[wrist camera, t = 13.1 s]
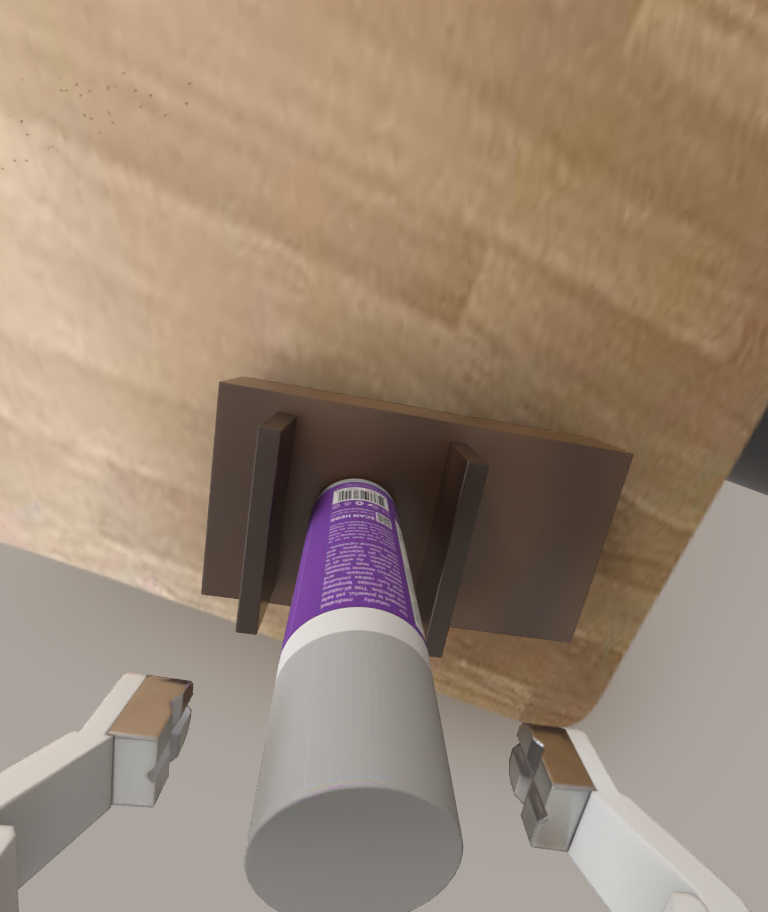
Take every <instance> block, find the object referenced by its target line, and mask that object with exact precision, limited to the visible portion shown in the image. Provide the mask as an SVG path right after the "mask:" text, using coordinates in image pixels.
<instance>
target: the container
mask: <svg viewBox="0 0 768 912" xmlns="http://www.w3.org/2000/svg"><path fill="white" fill-rule="evenodd" d="M462 855H463V839H462V834H461V828H460V823H459V817H458V812H457V807H456V801H455V796H454V790H453V785H452V779H451V774H450V768H449V763H448V758H447V752H446V747H445V741H444V736H443V730H442V725H441V719H440V714H439V709H438V704H437V698H436V692H435V687H434V681H433V676H432V670H431V665H430V659H429V654H428V649H427V644H426V640H425V635H424V631H423V626H422V621H421V617H420V612H419V608H418V603H417V599H416V594H415V590H414V585H413V581H412V576H411V571H410V567H409V562H408V558H407V553H406V549H405V544H404V540H403V535H402V531H401V526H400V522H399V517H398V512H397V509H396V506H395V503H394V501H393V499H392V497H391V496H390V495H389V493H388V492H387V491H386V490H385V489H383V488H382V487H381V486H379V485H378V484H376V483H374V482H371V481H368V480H364V479H346V480H342V481H338V482H336V483H334V484H332V485H330V486H329V487H327V488H326V489H325V490H324V491H322V492H321V494H320V495H319V496H318V497H317V499H316V501H315V503H314V505H313V508H312V512H311V516H310V520H309V525H308V530H307V534H306V539H305V543H304V548H303V553H302V557H301V562H300V567H299V571H298V576H297V580H296V585H295V590H294V594H293V599H292V604H291V608H290V613H289V617H288V622H287V627H286V631H285V636H284V641H283V645H282V650H281V655H280V660H279V666H278V672H277V678H276V683H275V689H274V694H273V700H272V706H271V711H270V717H269V722H268V728H267V733H266V739H265V744H264V750H263V755H262V761H261V766H260V772H259V778H258V783H257V789H256V795H255V800H254V805H253V811H252V816H251V822H250V828H249V833H248V838H247V845H246V850H245V856H244V868H245V873H246V876H247V879H248V882H249V884H250V886H251V887H252V889H253V890H254V891H255V893H256V894H257V895H258V896H259V897H260V898H261V900H263V901H264V902H265V903H266V904H268V905H269V906H270V907H272V908H274V909H275V910H277V911H279V912H410V911H412V910H414V909H416V908H418V907H420V906H422V905H423V904H425V903H427V902H428V901H430V900H431V899H432V898H434V897H435V896H436V895H438V894H439V893H440V892H441V891H442V890H443V889H444V888H445V887H446V886H447V885H448V883H449V882H450V881H451V880H452V878H453V877H454V875H455V874H456V872H457V870H458V868H459V865H460V862H461V859H462Z"/></svg>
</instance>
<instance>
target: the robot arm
mask: <svg viewBox="0 0 768 912" xmlns="http://www.w3.org/2000/svg"><path fill="white" fill-rule="evenodd" d="M192 695H193V683H192V682H191V681H187V680H180V679H173V678H167V677H160V676H153V675H144V674H138V673H131V672H128V673H126V674H125V675H123V676H122V677H121V678H120V679H119V681H118V682H117V683H116V685H115V686H114V687H113V688H112V690H111V691H110V692H109V694H108V695H107V696H106V698H105V699H104V700H103V701H102V703H101V704H100V705H99V707H98V708H97V709H96V711H95V712H94V713H93V714H92V716H91V717H90V719H89V720H88V721H87V722H86V724H85V725H84V726H83V728H82V729H81V730H80V731H79V732H75V731H72V732H70V733H68V734H66V735H65V736H63V737H61V738H60V739H58V740H56V741H54V742H52V743H51V744H49V745H47V746H46V747H44V748H42V749H40V750H39V751H37V752H35V753H33V754H32V755H30V756H28V757H26V758H25V759H23V760H21V761H20V762H18V763H16V764H14V765H13V766H11V767H9V768H7V769H6V770H4V771H2V772H1V773H0V912H19V910H18V909H19V908H18V889H19V888H20V887H22V886H23V885H24V884H25V883H26V882H27V881H28V880H29V879H31V878H32V877H33V876H34V875H35V874H36V873H37V872H38V871H39V870H41V869H42V868H43V867H44V866H45V865H46V864H48V863H49V862H50V861H51V860H52V859H53V858H54V857H55V856H57V855H58V854H59V853H60V852H61V851H62V850H63V849H65V848H66V847H67V846H68V845H69V844H70V843H71V842H72V841H74V840H75V839H76V838H77V837H78V836H79V835H80V834H82V833H83V832H84V831H85V830H86V829H87V828H88V827H89V826H91V825H92V824H93V823H94V822H95V821H96V820H97V819H98V818H100V817H101V816H102V815H103V814H104V813H105V812H106V811H108V810H109V809H110V808H111V805H122V806H136V807H149V808H153V807H154V805H155V803H156V801H157V799H158V797H159V795H160V793H161V791H162V789H163V786H164V784H165V782H166V780H167V778H168V775H169V763H170V762H171V761H173V760H174V759H175V758H177V757H178V755H179V753H180V751H181V748H182V746H183V744H184V741H185V738H186V735H187V732H188V728H189V724H190V719H191V709H190V707H189V706H188V703H189V701H190V699H191V697H192ZM517 736H518V739H519V741H520V743H519V744H518V745H517V746H515V747H514V748H513V749H512V752H511V756H510V760H509V775H510V781H511V785H512V789H513V792H514V795H515V796H516V797H517V798H518V799H519V800H520V802H521V803H522V804H523V805H524V806H523V810H522V813H521V817H522V820H523V823H524V826H525V829H526V833H527V835H528V839H529V842H530V845H531V847H534V848H541V849H548V850H556V851H563V852H568V856H569V857H570V859H571V860H572V861H573V863H574V864H575V865H576V866H577V868H578V869H579V870H580V872H581V873H582V874H583V876H584V877H585V878H586V880H587V881H588V882H589V884H590V885H591V886H592V888H593V889H594V890H595V891H596V893H597V894H598V895H599V897H600V898H601V899H602V901H603V902H604V903H605V905H606V906H607V907H608V908H609V910H610V911H611V912H751V911H750V910H749V909H748V907H747V906H746V904H745V903H744V901H743V900H742V898H741V897H740V896H739V895H738V894H737V893H736V892H735V891H734V890H733V889H732V888H730V887H729V886H728V885H727V884H726V883H725V882H724V881H723V880H721V879H720V878H719V877H718V876H717V875H716V874H715V873H714V872H712V871H711V870H710V869H709V868H708V867H707V866H706V865H704V864H703V863H702V862H701V861H700V860H699V859H698V858H697V857H695V856H694V855H693V854H692V853H691V852H690V851H689V850H688V849H686V848H685V847H684V846H683V845H682V844H681V843H680V842H679V841H677V840H676V839H675V838H674V837H673V836H672V835H671V834H670V833H668V832H667V831H666V830H665V829H664V828H663V827H662V826H661V825H659V824H658V823H657V822H656V821H655V820H654V819H653V818H651V817H650V816H649V815H648V814H647V813H646V812H645V811H644V810H642V809H641V808H640V807H639V806H638V805H637V804H636V803H635V802H633V801H632V800H631V799H630V798H629V797H628V796H627V795H623V794H620V793H619V791H618V790H617V788H616V786H615V784H614V783H613V781H612V779H611V777H610V775H609V774H608V772H607V770H606V768H605V767H604V765H603V763H602V761H601V760H600V758H599V756H598V754H597V752H596V751H595V749H594V747H593V745H592V743H591V742H590V740H589V738H588V736H587V735H586V733H585V732H584V731H583V730H582V729H575V728H567V727H558V726H549V725H540V724H532V723H522V724H521V726H520V727H519V730H518V733H517Z"/></svg>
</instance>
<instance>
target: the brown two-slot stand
mask: <svg viewBox="0 0 768 912" xmlns="http://www.w3.org/2000/svg"><path fill="white" fill-rule="evenodd" d="M632 458H633V454H632V453H630V452H627V451H625V450H622V449H620V448H617V447H614V446H612V445H609V444H607V443H604V442H602V441H599V440H597V439H594V438H588V437H582V436H577V435H571V434H565V433H560V432H554V431H548V430H542V429H537V428H531V427H525V426H520V425H514V424H508V423H503V422H497V421H491V420H486V419H480V418H474V417H469V416H463V415H457V414H452V413H446V412H440V411H435V410H429V409H423V408H417V407H412V406H406V405H400V404H395V403H389V402H383V401H378V400H372V399H366V398H361V397H355V396H349V395H344V394H338V393H332V392H327V391H321V390H315V389H310V388H304V387H298V386H293V385H287V384H281V383H275V382H270V381H264V380H258V379H253V378H247V377H239V378H235V379H231V380H226V381H222V382H219V391H218V402H217V414H216V426H215V438H214V449H213V461H212V473H211V485H210V496H209V508H208V520H207V532H206V543H205V555H204V567H203V579H202V590H201V594H204V595H211V596H219V597H226V598H234V599H239V605H238V614H237V623H236V632H238V633H246V634H254V635H256V634H257V632H258V629H259V627H260V624H261V622H262V619H263V616H264V614H265V611H266V609H267V606H268V603H272V604H279V605H287V606H291V604H292V599H293V594H294V590H295V585H296V580H297V576H298V571H299V567H300V562H301V557H302V553H303V548H304V543H305V539H306V534H307V530H308V525H309V520H310V516H311V512H312V508H313V505H314V503H315V501H316V499H317V497H318V496H319V495H320V494H321V492H322V491H324V490H325V489H326V488H327V487H329V486H330V485H332V484H334V483H336V482H338V481H342V480H346V479H364V480H368V481H371V482H374V483H376V484H378V485H379V486H381V487H382V488H383V489H385V490H386V491H387V492H388V493H389V495H390V496H391V497H392V499H393V501H394V503H395V506H396V509H397V512H398V517H399V522H400V526H401V531H402V535H403V540H404V544H405V549H406V553H407V558H408V562H409V567H410V571H411V576H412V581H413V585H414V590H415V594H416V599H417V603H418V608H419V612H420V617H421V621H422V626H423V631H424V635H425V640H426V644H427V649H428V654H429V656H431V657H439V658H441V657H442V653H443V649H444V645H445V641H446V637H447V633H448V629H449V627H453V628H461V629H469V630H476V631H484V632H491V633H499V634H507V635H514V636H522V637H529V638H537V639H544V640H552V641H560V642H567V643H571V641H572V638H573V635H574V632H575V629H576V626H577V623H578V620H579V617H580V614H581V611H582V608H583V605H584V602H585V599H586V596H587V593H588V590H589V587H590V584H591V581H592V578H593V575H594V572H595V569H596V566H597V563H598V560H599V557H600V554H601V551H602V548H603V545H604V542H605V539H606V536H607V533H608V530H609V527H610V524H611V521H612V518H613V515H614V512H615V509H616V506H617V503H618V500H619V497H620V494H621V491H622V488H623V485H624V482H625V479H626V476H627V473H628V470H629V467H630V464H631V461H632Z"/></svg>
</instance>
